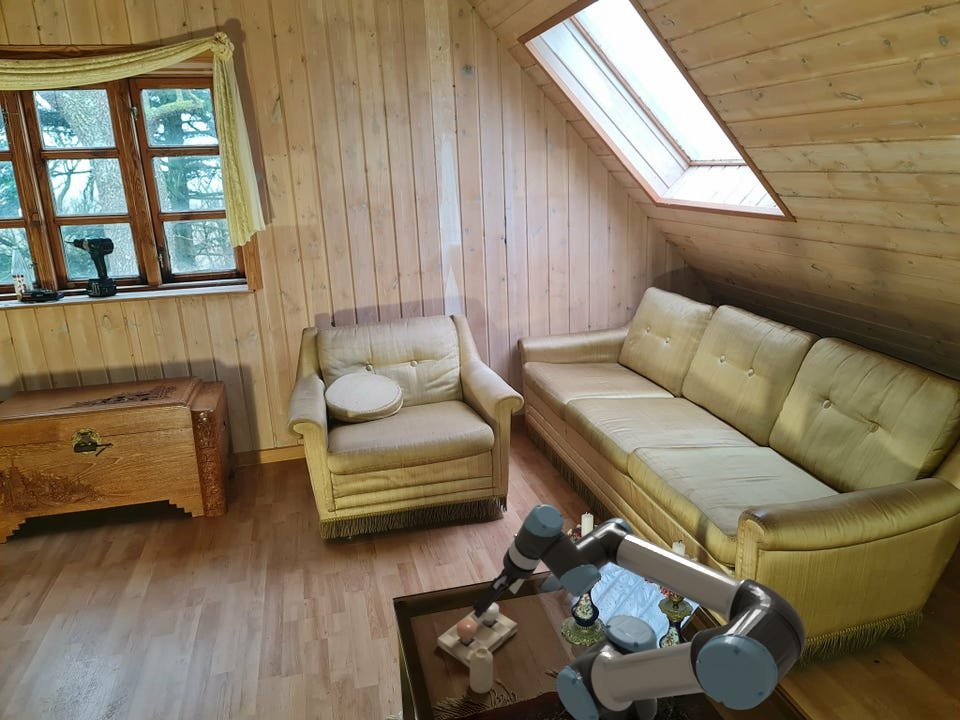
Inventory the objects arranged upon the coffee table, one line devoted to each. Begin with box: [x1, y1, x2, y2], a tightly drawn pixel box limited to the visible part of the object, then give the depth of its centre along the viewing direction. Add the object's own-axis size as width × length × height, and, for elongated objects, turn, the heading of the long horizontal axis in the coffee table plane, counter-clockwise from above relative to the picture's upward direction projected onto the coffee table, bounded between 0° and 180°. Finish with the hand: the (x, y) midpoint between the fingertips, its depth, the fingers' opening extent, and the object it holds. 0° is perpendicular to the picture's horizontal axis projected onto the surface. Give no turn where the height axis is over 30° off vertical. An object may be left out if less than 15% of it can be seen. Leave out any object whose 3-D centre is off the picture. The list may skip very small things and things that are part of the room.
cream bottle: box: [469, 648, 494, 694], centre depth 172 cm, size 6×6×10 cm
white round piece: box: [484, 602, 500, 627], centre depth 190 cm, size 5×5×5 cm
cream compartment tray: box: [437, 610, 518, 669], centre depth 188 cm, size 12×18×2 cm, turn 138°
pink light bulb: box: [456, 618, 476, 645], centre depth 184 cm, size 5×5×5 cm
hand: (493, 604), depth 173 cm, fingers open, 13 cm apart
